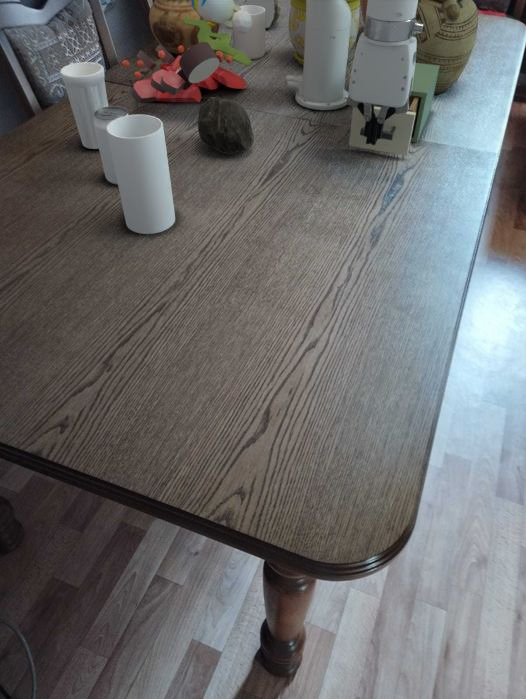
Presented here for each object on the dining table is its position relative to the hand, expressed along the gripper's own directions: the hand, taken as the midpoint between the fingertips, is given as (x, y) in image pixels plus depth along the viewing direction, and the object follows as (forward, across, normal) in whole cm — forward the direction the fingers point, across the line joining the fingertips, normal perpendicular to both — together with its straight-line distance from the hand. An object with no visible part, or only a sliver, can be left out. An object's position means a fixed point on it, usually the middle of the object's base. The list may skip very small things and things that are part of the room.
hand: (372, 141), depth 99 cm
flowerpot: (+6, +26, -54) cm, 61 cm away
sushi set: (+6, +47, -22) cm, 52 cm away
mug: (+6, +46, -54) cm, 71 cm away
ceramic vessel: (+6, -2, -47) cm, 47 cm away
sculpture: (+6, +53, -81) cm, 98 cm away
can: (+6, +42, +18) cm, 46 cm away
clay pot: (+6, +63, -49) cm, 80 cm away
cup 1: (+6, +54, +9) cm, 55 cm away
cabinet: (+6, 0, -24) cm, 24 cm away
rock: (+6, +29, 0) cm, 30 cm away
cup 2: (+6, +30, +30) cm, 42 cm away
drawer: (+5, 0, -12) cm, 13 cm away
